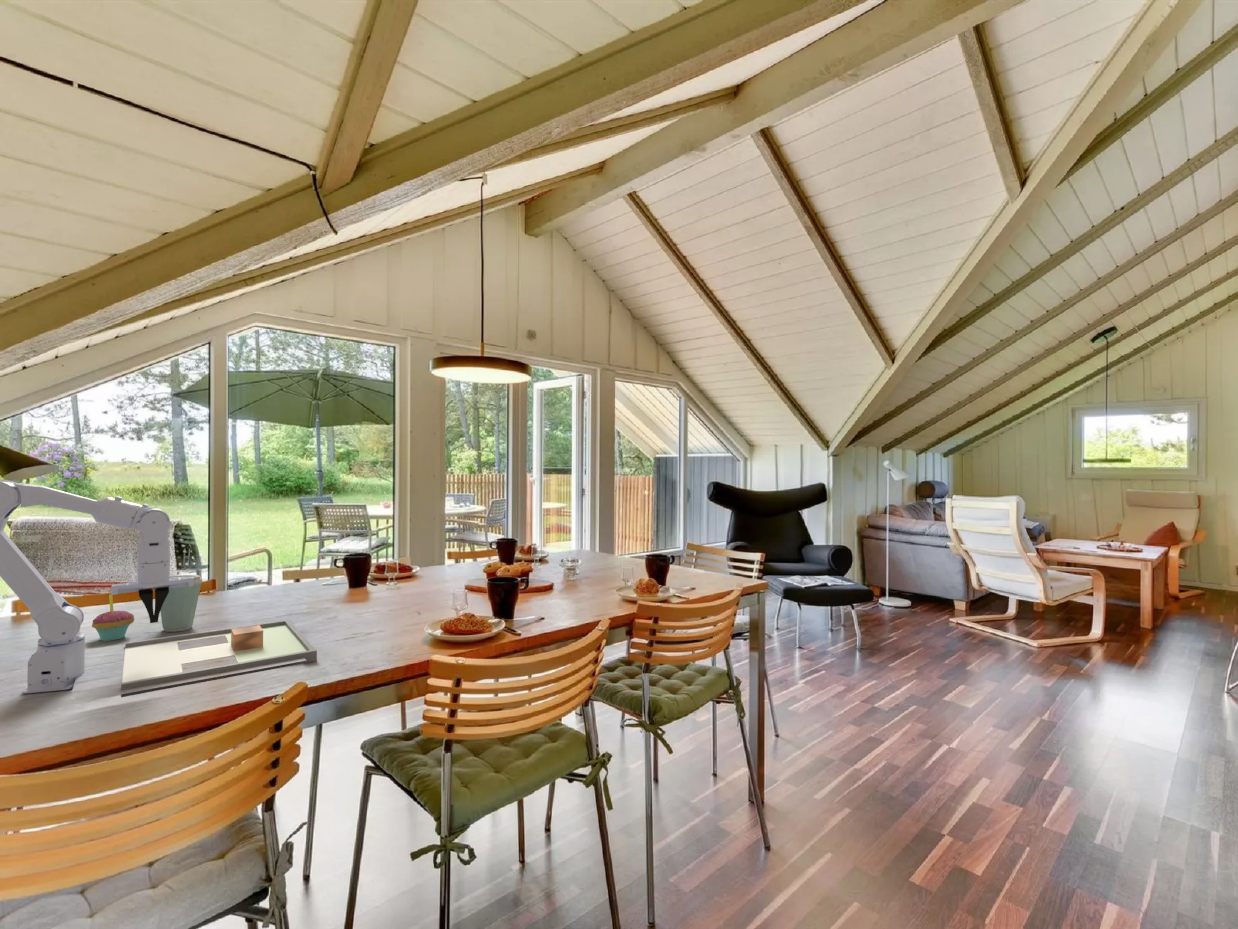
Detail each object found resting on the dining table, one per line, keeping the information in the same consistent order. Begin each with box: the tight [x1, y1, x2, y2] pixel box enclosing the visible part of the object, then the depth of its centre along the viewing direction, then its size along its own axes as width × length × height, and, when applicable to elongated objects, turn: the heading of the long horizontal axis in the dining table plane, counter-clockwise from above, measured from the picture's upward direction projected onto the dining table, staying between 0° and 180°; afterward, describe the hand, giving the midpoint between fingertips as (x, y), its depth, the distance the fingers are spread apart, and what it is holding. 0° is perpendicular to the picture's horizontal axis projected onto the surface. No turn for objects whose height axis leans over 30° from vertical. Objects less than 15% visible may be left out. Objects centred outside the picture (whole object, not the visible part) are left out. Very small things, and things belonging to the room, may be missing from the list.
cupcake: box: [91, 591, 135, 642], centre depth 155 cm, size 9×8×12 cm
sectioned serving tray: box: [120, 619, 318, 698], centre depth 141 cm, size 35×34×2 cm
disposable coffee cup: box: [158, 574, 204, 633], centre depth 164 cm, size 11×11×15 cm
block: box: [231, 625, 263, 651], centre depth 145 cm, size 6×6×4 cm
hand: (154, 621), depth 133 cm, fingers closed
